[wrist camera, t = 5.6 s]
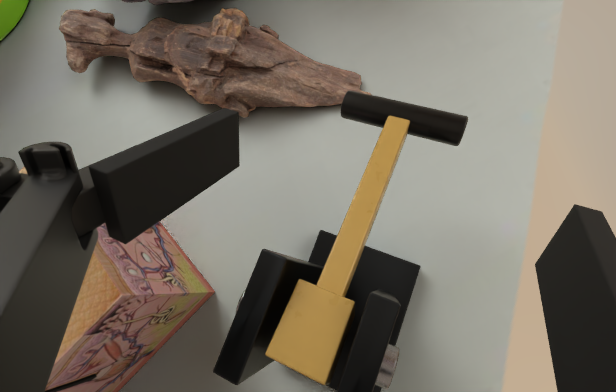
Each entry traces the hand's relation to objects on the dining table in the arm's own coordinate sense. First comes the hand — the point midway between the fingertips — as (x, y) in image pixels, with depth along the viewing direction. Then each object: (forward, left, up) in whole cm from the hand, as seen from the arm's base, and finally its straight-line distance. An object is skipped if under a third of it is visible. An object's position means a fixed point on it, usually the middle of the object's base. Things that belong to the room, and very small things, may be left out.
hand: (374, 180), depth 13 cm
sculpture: (-19, -8, -11) cm, 24 cm away
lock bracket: (+5, -4, -11) cm, 13 cm away
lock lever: (+1, -1, -2) cm, 3 cm away
